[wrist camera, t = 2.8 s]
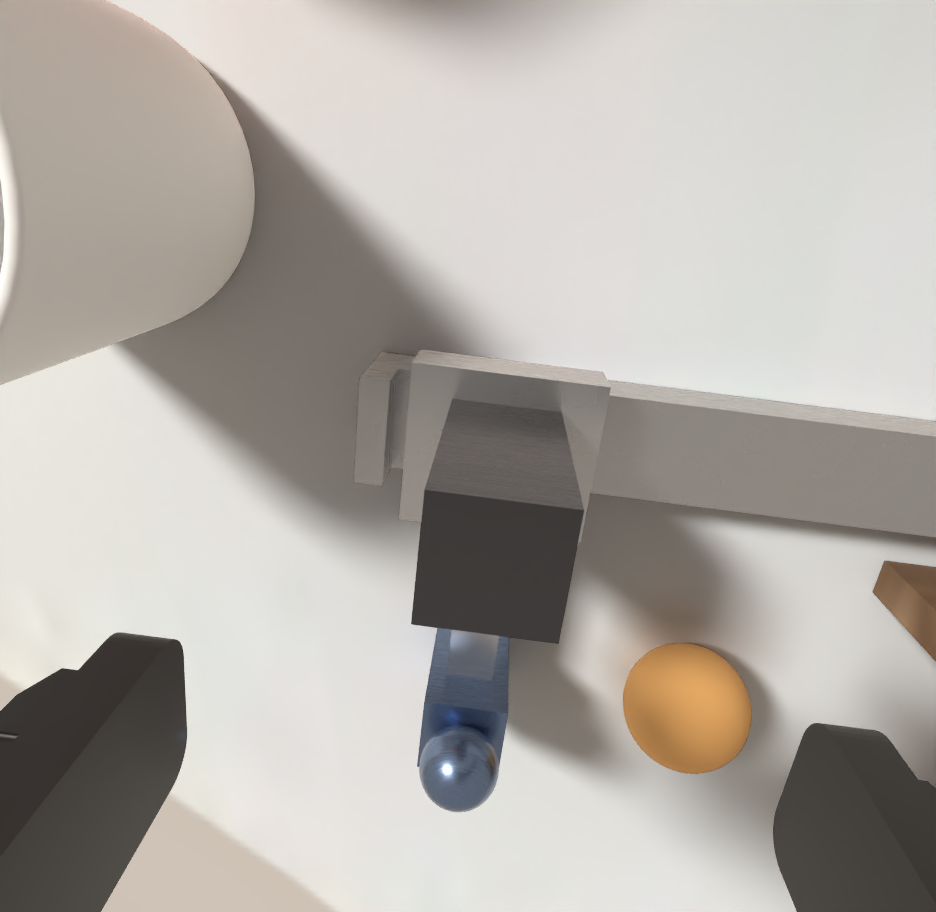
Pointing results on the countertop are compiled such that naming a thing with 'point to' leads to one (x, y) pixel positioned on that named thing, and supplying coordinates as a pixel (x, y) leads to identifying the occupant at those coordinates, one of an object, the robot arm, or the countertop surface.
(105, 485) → the countertop surface
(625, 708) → the ball
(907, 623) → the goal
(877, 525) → the rail
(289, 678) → the countertop surface
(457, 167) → the countertop surface
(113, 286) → the mug
